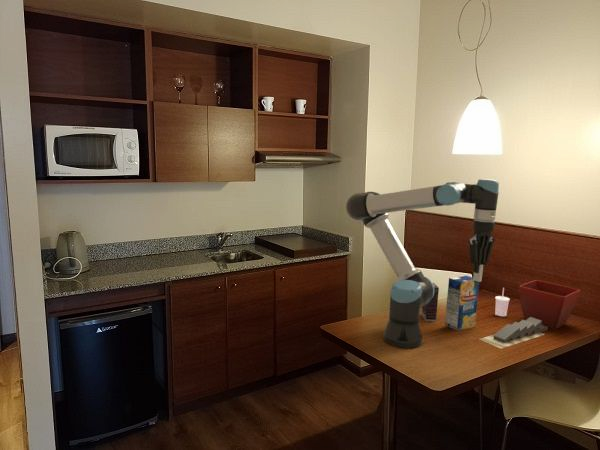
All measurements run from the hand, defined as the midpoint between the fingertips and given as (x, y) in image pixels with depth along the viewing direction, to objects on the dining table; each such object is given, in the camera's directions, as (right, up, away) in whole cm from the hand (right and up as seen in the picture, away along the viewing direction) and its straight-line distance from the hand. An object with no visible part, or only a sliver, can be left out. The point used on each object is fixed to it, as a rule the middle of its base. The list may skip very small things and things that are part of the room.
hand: (477, 280), depth 170 cm
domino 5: (+28, -23, +16) cm, 40 cm away
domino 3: (+20, -24, +11) cm, 33 cm away
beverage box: (+1, -23, +21) cm, 31 cm away
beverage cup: (+26, -22, +37) cm, 50 cm away
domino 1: (+11, -24, +6) cm, 27 cm away
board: (+19, -25, +11) cm, 33 cm away
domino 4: (+24, -23, +14) cm, 36 cm away
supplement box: (-10, -21, +32) cm, 40 cm away
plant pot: (+43, -23, +30) cm, 58 cm away
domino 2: (+15, -24, +8) cm, 30 cm away
